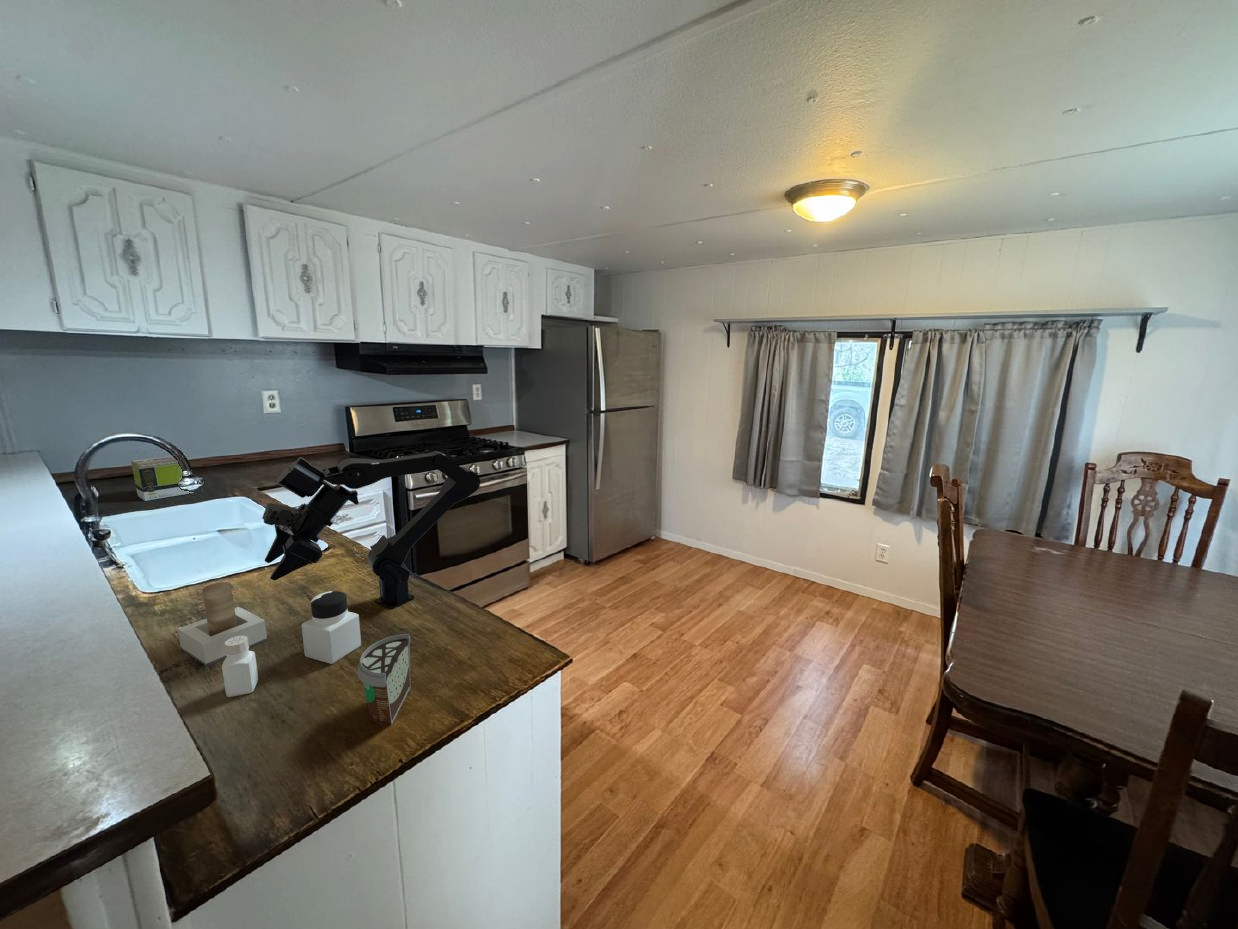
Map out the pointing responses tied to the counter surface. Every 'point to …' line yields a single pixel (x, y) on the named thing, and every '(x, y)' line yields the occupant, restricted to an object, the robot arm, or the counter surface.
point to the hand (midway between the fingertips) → (269, 570)
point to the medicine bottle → (330, 628)
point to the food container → (386, 676)
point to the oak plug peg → (219, 607)
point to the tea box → (157, 478)
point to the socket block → (220, 637)
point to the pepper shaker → (239, 667)
